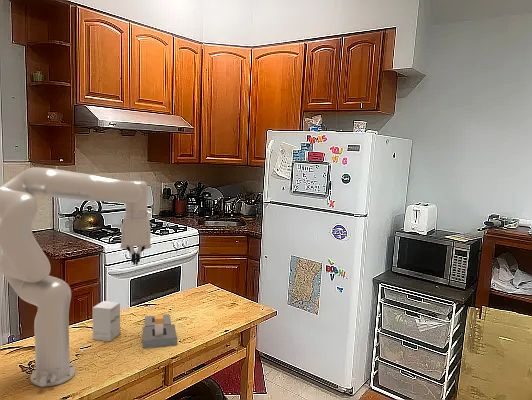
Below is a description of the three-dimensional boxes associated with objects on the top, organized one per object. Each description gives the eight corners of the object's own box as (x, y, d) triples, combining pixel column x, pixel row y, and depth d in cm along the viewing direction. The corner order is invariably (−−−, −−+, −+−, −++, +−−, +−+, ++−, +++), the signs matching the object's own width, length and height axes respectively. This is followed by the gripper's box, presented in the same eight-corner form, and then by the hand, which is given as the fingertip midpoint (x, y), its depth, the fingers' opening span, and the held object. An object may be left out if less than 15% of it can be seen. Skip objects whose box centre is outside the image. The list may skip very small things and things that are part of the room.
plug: (163, 341, 162) (163, 318, 160) (154, 342, 161) (154, 319, 160) (162, 336, 165) (162, 314, 164) (154, 337, 165) (154, 314, 163)
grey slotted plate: (171, 328, 173) (171, 323, 173) (145, 330, 170) (145, 326, 170) (169, 318, 183) (169, 314, 182) (144, 320, 180) (144, 316, 179)
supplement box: (110, 341, 160) (109, 309, 159) (92, 339, 162) (91, 307, 160) (121, 333, 167) (120, 302, 166) (103, 331, 169) (103, 300, 167)
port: (176, 345, 159) (176, 337, 159) (142, 348, 156) (142, 340, 155) (174, 331, 170) (174, 324, 170) (142, 334, 167) (142, 326, 167)
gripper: (157, 213, 164) (156, 261, 166) (115, 213, 160) (115, 261, 162) (157, 216, 157) (156, 266, 158) (113, 216, 153) (113, 267, 155)
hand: (135, 263), depth 160 cm, fingers closed
